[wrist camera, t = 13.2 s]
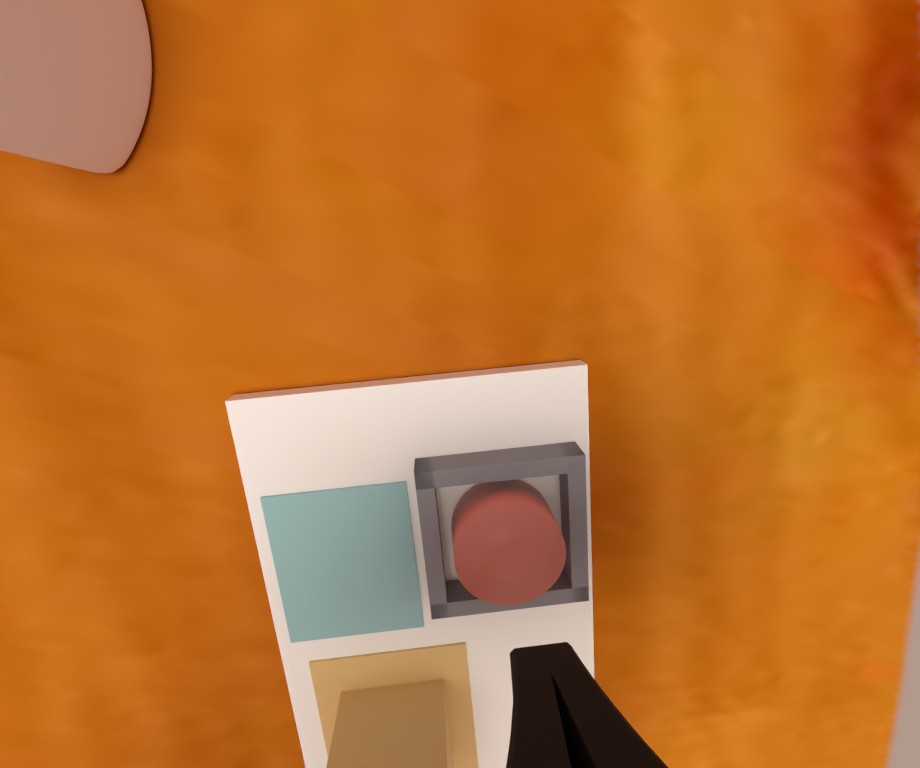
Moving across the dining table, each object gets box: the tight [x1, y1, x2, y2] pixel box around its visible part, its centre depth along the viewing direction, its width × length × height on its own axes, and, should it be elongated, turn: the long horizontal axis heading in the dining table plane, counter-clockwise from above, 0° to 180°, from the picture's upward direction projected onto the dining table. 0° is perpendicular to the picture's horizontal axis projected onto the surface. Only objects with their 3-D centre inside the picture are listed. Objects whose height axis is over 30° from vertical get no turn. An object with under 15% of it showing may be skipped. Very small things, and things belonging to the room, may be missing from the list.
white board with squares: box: [225, 360, 594, 768], centre depth 19 cm, size 20×12×2 cm, turn 5°
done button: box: [451, 479, 566, 606], centre depth 17 cm, size 4×4×2 cm
